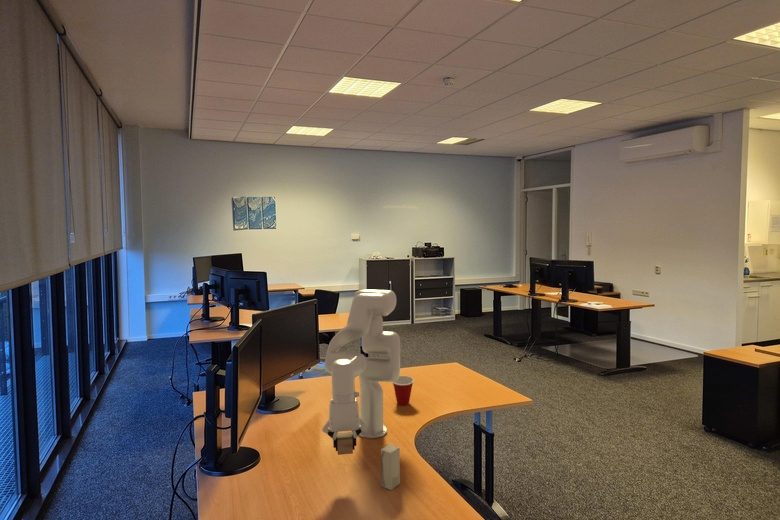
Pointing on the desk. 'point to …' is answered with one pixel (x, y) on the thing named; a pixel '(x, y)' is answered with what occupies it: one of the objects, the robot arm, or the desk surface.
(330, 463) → the desk surface
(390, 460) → the box
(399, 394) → the plastic cup
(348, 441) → the walnut cube
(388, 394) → the desk surface
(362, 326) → the robot arm
